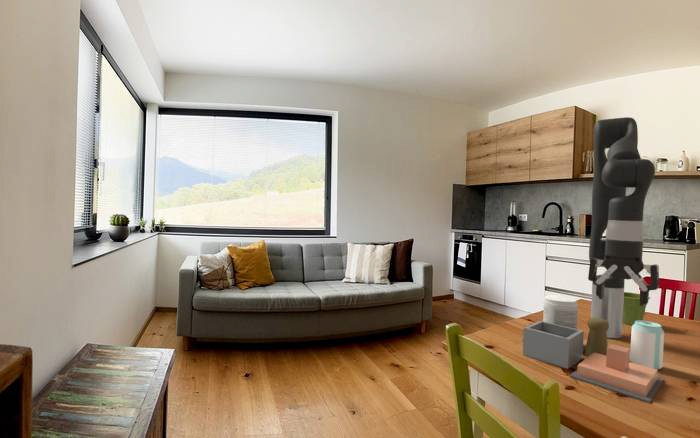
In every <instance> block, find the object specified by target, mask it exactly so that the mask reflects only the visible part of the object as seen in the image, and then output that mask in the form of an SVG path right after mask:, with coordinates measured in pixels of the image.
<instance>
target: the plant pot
mask: <svg viewBox="0 0 700 438" xmlns="http://www.w3.org/2000/svg"><path fill="white" fill-rule="evenodd" d="M650 299H651V296H649V299H648V301H650ZM647 305H648V303H647V304H645V306H640V293H636V292H629V291H624V305H623V323H624V324H623V325H627V324H628V326H633V325H634V324H635V321H638V320H640V321H644V317H645V313H646V312H645V311H646V308H647Z"/></svg>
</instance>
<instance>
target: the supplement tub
mask: <svg viewBox="0 0 700 438" xmlns="http://www.w3.org/2000/svg"><path fill="white" fill-rule="evenodd" d="M578 308H579V307H578V300H577V299H576V298H573V297H570V296H569V297H568V296H564V295H557V294H556V295H555V294H554V295H553V294H551V295H545V296H544V298H543V311H542V312H543V314H542V315H543V317H542V319H543V320H542V321H544V322H548V323H553V324H557V325H561V326H565V327H569V328H574V329H578Z"/></svg>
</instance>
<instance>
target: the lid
mask: <svg viewBox="0 0 700 438" xmlns="http://www.w3.org/2000/svg"><path fill="white" fill-rule="evenodd" d="M630 350H631V348H629V347H626V346H625V347H624V346H622V345H617V344H613V343H611V344H608V347H607V355H606V356H605V355H601V354H598V353H593V354H591V355H590V356H587V357H586V358H585V359H583V360H582V361H581V362H580V363H578V364H577V367H576V368H577V369H576V370H577V375H580V376H583V377H586V378H589V379H592V380H595V381H599V382H602V383H605V384H608V385H611V386H614V387H617V388H620V389H624V390H627V391H630V392H633V393H636V394H639V395H642V396H645V397H646V396H647V394H648V393H649V391H650V390H651V388H652V386H653V385H654V383H655V382H656V380H657V377H658V371H659V369H658V370H657V369H653V368H649V367H646V366H642V365H638V364H635V363H632V362H631V361H630Z"/></svg>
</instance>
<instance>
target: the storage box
mask: <svg viewBox="0 0 700 438" xmlns="http://www.w3.org/2000/svg"><path fill="white" fill-rule="evenodd" d="M584 333H585V332H584V330H582V329H578V328H577V329H574V328H569V327H565V326H561V325H557V324H553V323H548V322H544V321H543V320H539V321H537V322H533V323H532V324H529V325H527V326H525V327H523V337H522V338H523V339H522V356H525V357H528V358H532V359H535V360H538V361H541V362H544V363H548V364H552V365H554V366H557V367H561V368H564V369H566V370H568V369H570V368H571V367H573V366H574V365H575V364H576V363H579V361H581V360H582V359H583V356H584V355H583V354H584V353H583V352H584V337H585V335H584Z"/></svg>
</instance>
